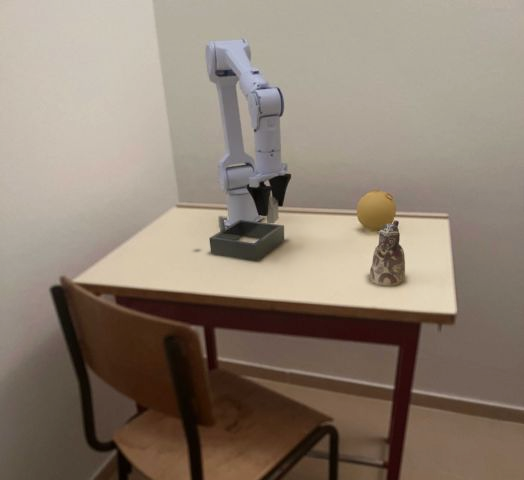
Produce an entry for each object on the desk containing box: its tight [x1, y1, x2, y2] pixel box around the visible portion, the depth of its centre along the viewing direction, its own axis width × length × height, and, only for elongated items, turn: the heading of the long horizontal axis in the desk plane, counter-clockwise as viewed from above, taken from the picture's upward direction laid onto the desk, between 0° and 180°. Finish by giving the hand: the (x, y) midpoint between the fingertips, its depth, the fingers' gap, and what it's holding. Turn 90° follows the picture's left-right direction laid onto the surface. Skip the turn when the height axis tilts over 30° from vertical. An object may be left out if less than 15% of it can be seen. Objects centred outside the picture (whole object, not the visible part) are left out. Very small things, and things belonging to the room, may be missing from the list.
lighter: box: [266, 192, 280, 224], centre depth 120 cm, size 7×2×8 cm, turn 162°
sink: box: [208, 215, 285, 262], centre depth 127 cm, size 14×15×7 cm
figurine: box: [369, 219, 406, 287], centre depth 106 cm, size 7×7×12 cm
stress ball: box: [356, 189, 397, 231], centre depth 132 cm, size 10×10×10 cm
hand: (270, 210), depth 121 cm, fingers closed on lighter, 7 cm apart
